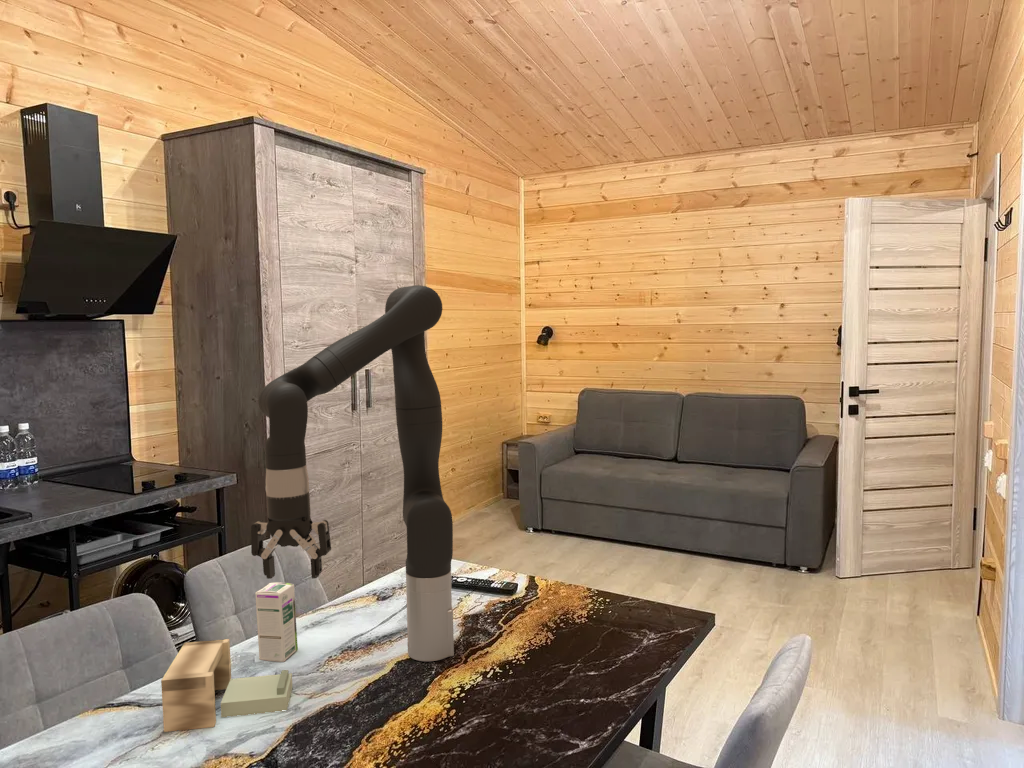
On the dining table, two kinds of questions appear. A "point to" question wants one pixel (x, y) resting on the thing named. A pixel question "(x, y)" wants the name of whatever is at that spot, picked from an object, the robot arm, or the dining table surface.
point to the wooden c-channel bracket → (195, 684)
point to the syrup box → (276, 621)
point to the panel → (257, 694)
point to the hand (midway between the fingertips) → (293, 577)
